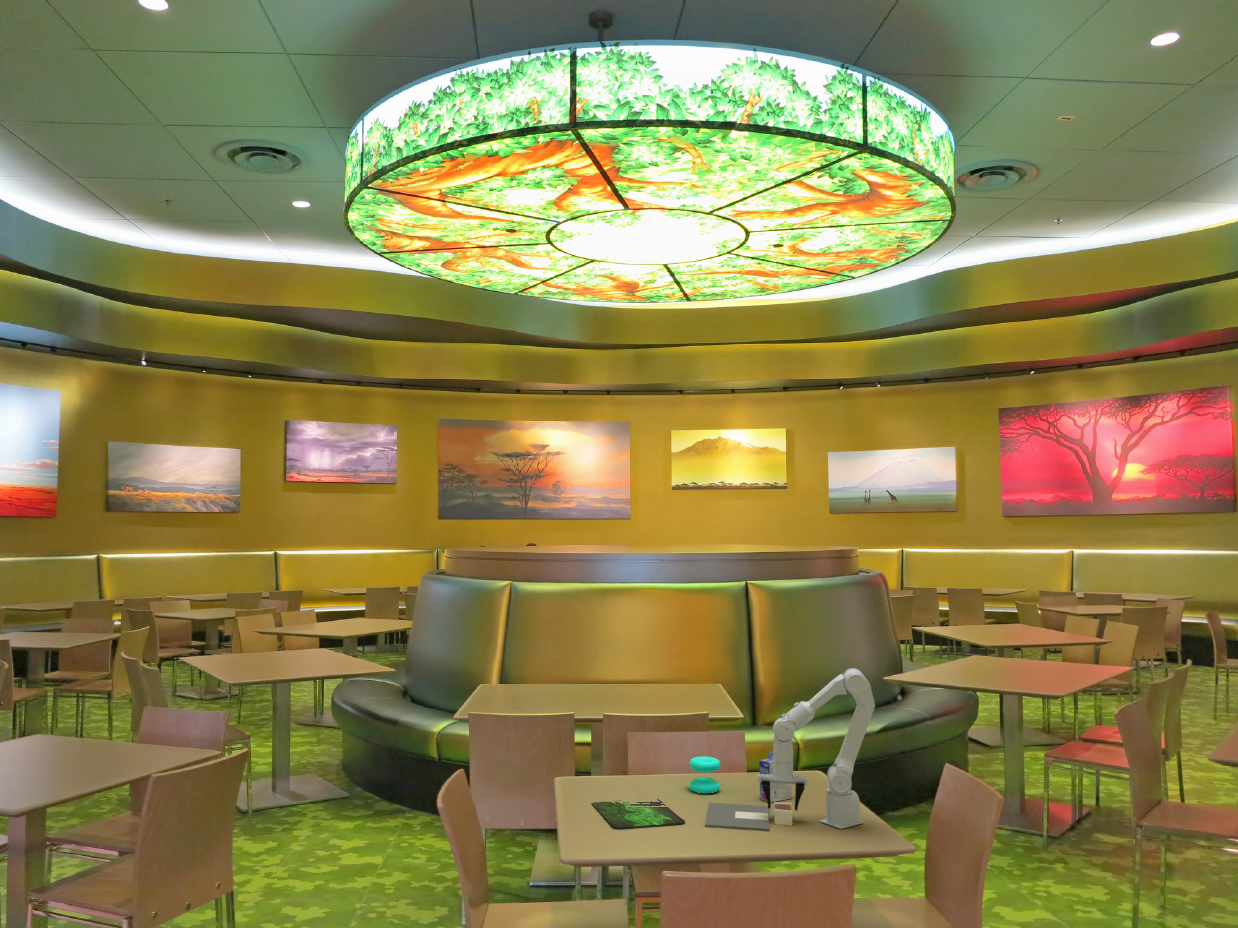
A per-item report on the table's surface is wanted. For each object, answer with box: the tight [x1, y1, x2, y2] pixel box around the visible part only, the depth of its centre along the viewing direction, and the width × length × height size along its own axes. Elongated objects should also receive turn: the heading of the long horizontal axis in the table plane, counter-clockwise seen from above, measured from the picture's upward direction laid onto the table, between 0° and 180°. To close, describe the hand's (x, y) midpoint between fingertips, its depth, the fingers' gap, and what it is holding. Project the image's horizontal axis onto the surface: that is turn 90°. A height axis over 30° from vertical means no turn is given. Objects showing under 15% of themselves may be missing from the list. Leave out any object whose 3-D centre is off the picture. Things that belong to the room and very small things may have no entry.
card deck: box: [773, 801, 793, 826], centre depth 266 cm, size 5×8×4 cm, turn 171°
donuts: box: [688, 756, 721, 794], centre depth 296 cm, size 10×10×10 cm
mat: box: [704, 802, 770, 832], centre depth 268 cm, size 18×22×1 cm
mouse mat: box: [590, 798, 686, 830], centre depth 270 cm, size 27×22×1 cm
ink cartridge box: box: [758, 750, 793, 803], centre depth 288 cm, size 10×6×14 cm, turn 124°
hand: (782, 808), depth 266 cm, fingers open, 7 cm apart
